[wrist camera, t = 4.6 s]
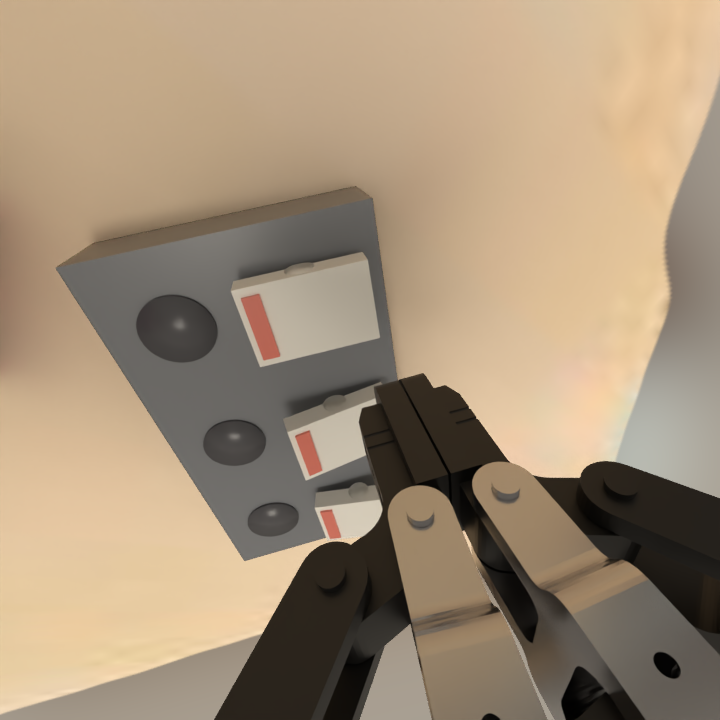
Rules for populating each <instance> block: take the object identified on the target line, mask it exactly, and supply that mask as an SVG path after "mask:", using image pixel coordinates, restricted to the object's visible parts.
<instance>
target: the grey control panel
mask: <svg viewBox="0 0 720 720" xmlns="http://www.w3.org/2000/svg"><path fill="white" fill-rule="evenodd" d="M359 252H363V253H364V255H365V256H366V258H367V259H368V264H369V271H370V277H371V283H372V290H373V296H374V302H375V309H376V315H377V321H378V328H379V334H380V338H378V339H374V340H369V341H365V342H361V343H357V344H353V345H349V346H345V347H341V348H337V349H333V350H329V351H325V352H321V353H316V354H312V355H308V356H304V357H300V358H296V359H292V360H288V361H284V362H280V363H276V364H272V365H268V366H263V367H260V366H259V363H258V360H257V358H256V355H255V353H254V350H253V347H252V345H251V342H250V340H249V337H248V335H247V332H246V329H245V327H244V324H243V322H242V319H241V316H240V314H239V311H238V309H237V306H236V304H235V301H234V298H233V296H232V293H231V288H232V284H233V281H236V280H241V279H245V278H250V277H254V276H258V275H263V274H267V273H272V272H276V271H280V270H285V269H286V268H288V267H290V266H292V265H295V264H299V263H315V262H320V261H324V260H328V259H333V258H337V257H342V256H346V255H350V254H355V253H359ZM56 270H57V271H58V273H59V274H60V276H61V277H62V279H63V281H64V282H65V284H66V285H67V287H68V288H69V290H70V291H71V293H72V295H73V296H74V298H75V299H76V301H77V302H78V304H79V305H80V307H81V308H82V310H83V312H84V313H85V315H86V316H87V318H88V319H89V321H90V322H91V324H92V326H93V327H94V329H95V330H96V332H97V333H98V335H99V336H100V338H101V339H102V341H103V343H104V344H105V346H106V347H107V349H108V350H109V352H110V353H111V355H112V357H113V358H114V360H115V361H116V363H117V364H118V366H119V367H120V369H121V370H122V372H123V374H124V375H125V377H126V378H127V380H128V381H129V383H130V384H131V386H132V388H133V389H134V391H135V392H136V394H137V395H138V397H139V398H140V400H141V401H142V403H143V405H144V406H145V408H146V409H147V411H148V412H149V414H150V415H151V417H152V419H153V420H154V422H155V423H156V425H157V426H158V428H159V429H160V431H161V432H162V434H163V436H164V437H165V439H166V440H167V442H168V443H169V445H170V446H171V448H172V450H173V451H174V453H175V454H176V456H177V457H178V459H179V460H180V462H181V463H182V465H183V467H184V468H185V470H186V471H187V473H188V474H189V476H190V477H191V479H192V481H193V482H194V484H195V485H196V487H197V488H198V490H199V491H200V493H201V494H202V496H203V498H204V499H205V501H206V502H207V504H208V505H209V507H210V508H211V510H212V512H213V513H214V515H215V516H216V518H217V519H218V521H219V522H220V524H221V526H222V527H223V529H224V530H225V532H226V533H227V535H228V536H229V538H230V539H231V541H232V543H233V544H234V546H235V547H236V549H237V550H238V552H239V553H240V555H241V557H242V558H243V560H244V561H247V560H250V559H253V558H257V557H260V556H264V555H267V554H271V553H274V552H278V551H281V550H285V549H288V548H292V547H295V546H298V545H302V544H305V543H309V542H312V541H316V540H319V539H323V538H326V536H325V533H324V531H323V528H322V526H321V523H320V520H319V518H318V515H317V513H316V510H315V498H316V493H317V492H325V491H333V490H340V489H348V488H350V487H351V486H352V485H353V484H354V483H358V482H362V483H365V484H366V485H367V486H371V485H375V483H374V480H373V477H372V473H371V470H370V467H369V464H368V460H367V457H366V455H365V456H363V457H361V458H358V459H356V460H354V461H351V462H349V463H347V464H344V465H342V466H340V467H337V468H335V469H332V470H330V471H328V472H325V473H323V474H321V475H318V476H316V477H314V478H311V479H309V480H307V481H306V480H305V477H304V475H303V472H302V469H301V467H300V464H299V462H298V459H297V456H296V454H295V451H294V449H293V446H292V443H291V441H290V438H289V436H288V433H287V430H286V427H285V424H284V421H283V419H284V418H287V417H290V416H292V415H295V414H298V413H300V412H303V411H305V410H308V409H311V408H313V407H316V406H319V405H321V404H323V402H324V401H325V400H326V399H327V398H328V397H330V396H333V395H342V396H345V395H347V394H350V393H353V392H355V391H358V390H361V389H363V388H366V387H368V386H371V385H374V384H376V383H379V382H381V383H382V384H385V383H389V382H393V381H396V380H397V373H396V365H395V358H394V351H393V344H392V336H391V329H390V322H389V315H388V308H387V300H386V293H385V286H384V279H383V271H382V264H381V257H380V250H379V242H378V235H377V228H376V221H375V213H374V206H373V199H372V197H370V196H369V195H367V194H366V193H365V192H363V191H362V190H360V189H359V188H358V187H356V186H355V187H350V188H346V189H341V190H336V191H332V192H327V193H323V194H318V195H313V196H309V197H304V198H300V199H295V200H290V201H286V202H281V203H277V204H272V205H267V206H263V207H258V208H254V209H249V210H244V211H240V212H235V213H231V214H226V215H221V216H217V217H212V218H208V219H203V220H198V221H194V222H189V223H185V224H180V225H175V226H171V227H166V228H162V229H157V230H152V231H148V232H143V233H138V234H134V235H129V236H125V237H120V238H115V239H111V240H106V241H102V242H97V243H93V244H91V245H90V246H88V247H87V248H85V249H84V250H82V251H80V252H79V253H77V254H76V255H74V256H73V257H71V258H70V259H68V260H67V261H65V262H64V263H62V264H61V265H59V266H58V267H56Z"/></svg>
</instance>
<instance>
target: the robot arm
mask: <svg viewBox="0 0 720 720" xmlns="http://www.w3.org/2000/svg"><path fill="white" fill-rule="evenodd" d="M374 393H375V399H376V404H375V405H372V406H368V407H364V408H362V410H361V414H360V418H359V426H360V430H361V435H362V439H363V444H364V448H365V453H366V457H367V460H368V464H369V467H370V470H371V473H372V477H373V480H374V483H375V486H376V490H377V493H378V496H379V499H380V503H381V506H382V513H381V516H380V518H379V520H378V522H377V523H376V525H375V526H374V527H373V528H372V529H371V530H370V531H369V532H368V533H367V534H366V535H364V536H363V537H361V538H360V539H359V540H357V541H356V542H354V543H353V544H351V545H350V544H348V543H344V542H329V543H326V544H323V545H321V546H319V547H317V548H316V549H314V550H313V551H312V552H311V553H310V554H309V555H308V556H307V557H306V558H305V560H304V561H303V563H302V564H301V566H300V568H299V570H298V572H297V573H296V575H295V577H294V579H293V580H292V582H291V584H290V586H289V588H288V589H287V591H286V593H285V595H284V596H283V598H282V600H281V602H280V604H279V605H278V607H277V609H276V611H275V612H274V614H273V616H272V618H271V620H270V621H269V623H268V625H267V627H266V628H265V630H264V632H263V634H262V636H261V637H260V639H259V641H258V643H257V644H256V646H255V648H254V650H253V652H252V653H251V655H250V657H249V659H248V660H247V662H246V664H245V666H244V668H243V669H242V671H241V673H240V675H239V676H238V678H237V680H236V682H235V683H234V685H233V687H232V689H231V691H230V692H229V694H228V696H227V698H226V700H225V701H224V703H223V705H222V707H221V709H220V710H219V712H218V714H217V716H216V718H215V719H214V720H359V719H360V717H361V714H362V710H363V708H364V705H365V702H366V699H367V696H368V693H369V690H370V687H371V684H372V681H373V679H374V676H375V673H376V670H377V667H378V664H379V661H380V658H381V655H382V652H383V649H384V646H385V645H386V644H387V643H388V642H389V641H391V640H392V639H393V638H394V637H395V636H396V635H397V634H399V633H400V632H401V631H402V630H403V629H404V628H406V627H407V626H408V625H409V624H411V628H412V633H413V637H414V641H415V646H416V650H417V654H418V659H419V664H420V668H421V672H422V677H423V681H424V686H425V690H426V696H427V700H428V705H429V709H430V713H431V718H432V720H547V717H546V715H545V713H544V710H543V708H542V706H541V703H540V701H539V698H538V696H537V693H536V691H535V689H534V686H533V684H532V681H531V679H530V677H529V674H528V672H527V669H526V667H525V665H524V662H523V660H522V657H521V655H520V653H519V650H518V648H517V645H516V643H515V641H514V638H513V636H512V633H511V631H510V629H509V627H508V625H507V622H506V620H505V619H504V617H503V615H502V613H501V612H500V610H499V609H498V608H497V607H496V606H494V605H493V604H492V602H491V601H490V599H489V596H488V594H487V592H486V589H485V587H484V584H483V582H482V579H481V577H480V574H479V572H478V570H479V571H480V573H481V575H482V577H483V579H484V580H485V582H486V584H487V586H488V587H489V589H490V591H491V593H492V595H493V596H494V598H495V600H496V601H497V603H498V605H499V607H500V609H501V610H502V612H503V614H504V616H505V617H506V619H507V621H508V623H509V625H510V626H511V628H512V630H513V632H514V633H515V635H516V637H517V639H518V640H519V642H520V644H521V646H522V648H523V650H524V653H525V656H526V659H527V662H528V666H529V669H530V672H531V675H532V677H533V679H534V682H535V684H536V686H537V688H538V690H539V692H540V694H541V696H542V697H543V699H544V701H545V703H546V705H547V707H548V708H549V710H550V712H551V714H552V716H553V717H554V719H555V720H720V498H717V497H714V496H712V495H709V494H706V493H703V492H700V491H698V490H695V489H692V488H689V487H686V486H684V485H681V484H678V483H675V482H672V481H670V480H667V479H664V478H661V477H658V476H656V475H653V474H650V473H647V472H644V471H642V470H639V469H636V468H633V467H630V466H628V465H624V464H621V463H617V462H609V461H602V462H596V463H593V464H590V465H589V466H587V467H586V468H585V469H584V470H583V472H582V473H581V477H580V478H544V477H538V476H534V475H532V474H531V473H530V472H528V471H527V470H526V469H524V468H522V467H520V466H518V465H516V464H512V463H510V462H509V461H508V460H507V458H506V457H505V456H504V454H503V453H502V452H501V450H500V449H499V448H498V446H497V445H496V443H495V442H494V441H493V439H492V438H491V437H490V435H489V434H488V432H487V431H486V430H485V428H484V427H483V426H482V424H481V423H480V421H479V420H478V419H476V416H475V415H474V413H473V412H472V410H471V409H469V406H468V405H467V404H466V402H465V401H464V399H463V398H462V397H461V395H460V394H459V393H457V392H455V391H454V390H452V389H451V388H449V387H447V386H446V385H444V386H441V387H437V388H433V387H432V385H431V383H430V382H429V380H428V379H427V377H426V376H425V375H424V374H423V373H422V374H418V375H415V376H411V377H407V378H403V379H400V380H399V381H398V380H396V381H393V382H389V383H385V384H382V385H378V386H374ZM464 530H465V532H466V534H467V536H468V538H469V540H470V542H471V544H472V554H471V552H470V549H469V547H468V544H467V542H466V539H465V537H464V534H463V532H462V531H464ZM476 566H477V567H476ZM477 568H478V569H477Z"/></svg>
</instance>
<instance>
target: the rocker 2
mask: <svg viewBox="0 0 720 720" xmlns="http://www.w3.org/2000/svg"><path fill="white" fill-rule="evenodd" d="M378 385H382V383H381V382H379V383H376V384H374V385H371V386H368V387H366V388H363V389H361V390H358V391H355V392H353V393H350V394H347V395H345V396H342V395H333V396H330V397H328V398H327V399H326V400H325V401H324V402H323V404H321V405H319V406H316V407H313V408H311V409H308V410H305V411H303V412H300V413H298V414H295V415H292V416H290V417H287V418H284V419H283V421H284V424H285V427H286V430H287V433H288V436H289V438H290V441H291V443H292V446H293V449H294V451H295V454H296V456H297V459H298V462H299V464H300V467H301V469H302V472H303V475H304V477H305V480H306V481H307V480H309V479H311V478H314V477H316V476H318V475H321V474H323V473H325V472H328V471H330V470H332V469H335V468H337V467H340V466H342V465H344V464H347V463H349V462H351V461H354V460H356V459H358V458H361V457H363V456H365V455H366V453H365V448H364V444H363V439H362V435H361V430H360V426H359V418H360V414H361V410H362V408H364V407H368V406H372V405H375V404H376V399H375V393H374V386H378Z"/></svg>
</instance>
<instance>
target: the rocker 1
mask: <svg viewBox="0 0 720 720" xmlns="http://www.w3.org/2000/svg"><path fill="white" fill-rule="evenodd" d="M231 293H232V296H233V298H234V301H235V304H236V306H237V309H238V311H239V314H240V316H241V319H242V322H243V324H244V327H245V329H246V332H247V335H248V337H249V340H250V342H251V345H252V347H253V350H254V353H255V355H256V358H257V360H258V363H259V366H260V367H263V366H268V365H272V364H276V363H280V362H284V361H288V360H292V359H296V358H300V357H304V356H308V355H312V354H316V353H321V352H325V351H329V350H333V349H337V348H341V347H345V346H349V345H353V344H357V343H361V342H365V341H369V340H374V339H378V338H380V334H379V328H378V321H377V315H376V309H375V302H374V296H373V290H372V283H371V277H370V271H369V264H368V259H367V258H366V256H365V255H364V253H363V252H359V253H355V254H350V255H346V256H342V257H337V258H333V259H328V260H324V261H320V262H315V263H299V264H295V265H292V266H290V267H288V268H286V269H285V270H280V271H276V272H272V273H267V274H263V275H258V276H254V277H250V278H245V279H241V280H236V281H233V284H232V288H231Z"/></svg>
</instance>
